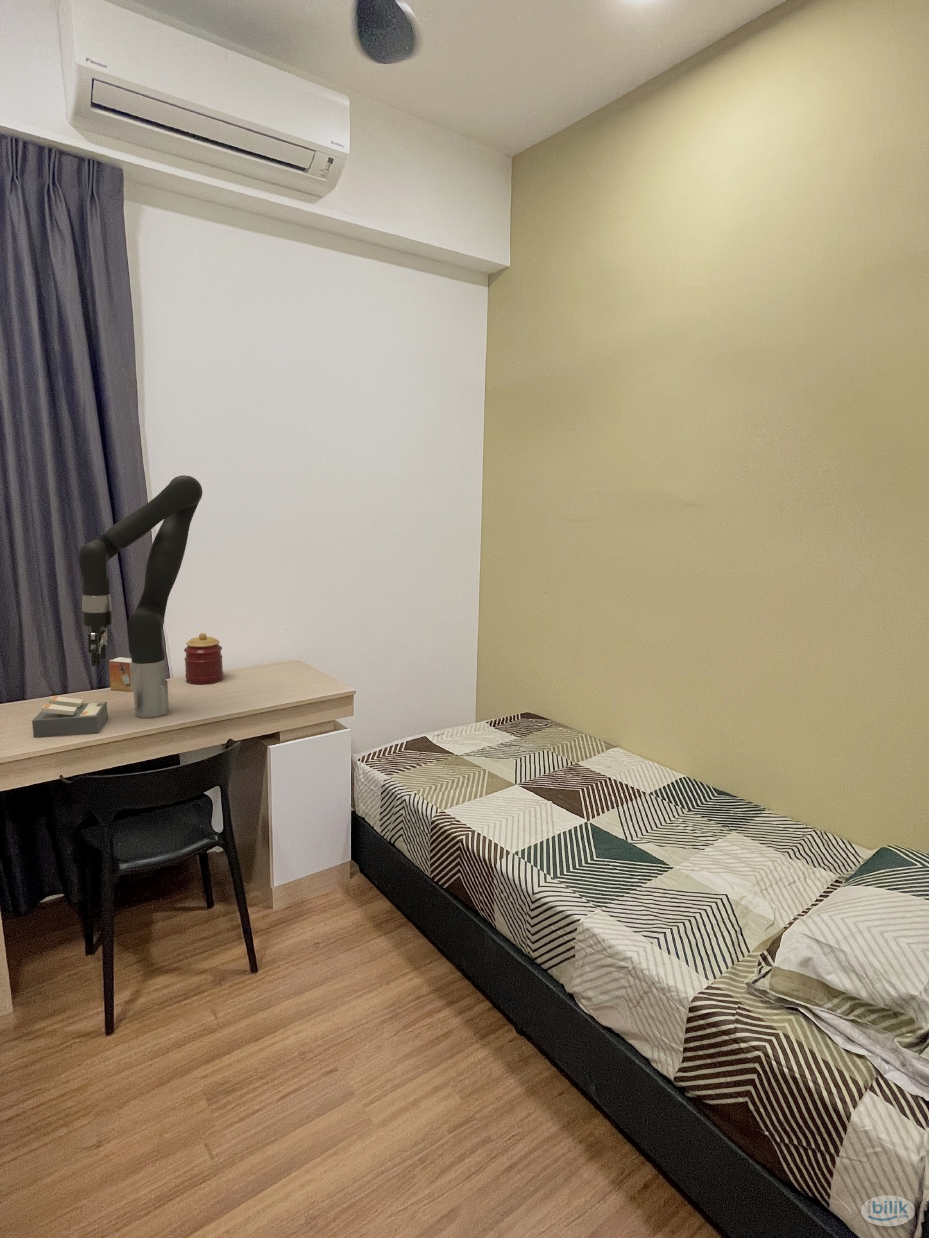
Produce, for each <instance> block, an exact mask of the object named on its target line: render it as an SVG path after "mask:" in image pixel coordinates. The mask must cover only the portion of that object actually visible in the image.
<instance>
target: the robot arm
mask: <svg viewBox="0 0 929 1238" xmlns="http://www.w3.org/2000/svg"><path fill="white" fill-rule="evenodd" d="M202 498H203V488H202V485H201V483H200V481H199V480H198V479H196V478H195V477H193V476H190V475H183V474H182V475H178V476H175V477H174V478H173V479H171V480H170V481H169V483H168V484H167V485H166V486H165V487H164V488H163V489H162V490H161V491H160V492H159V493H158V494H157V495H155V497H154V498H152V499H151V500H150V501H148V502H147V503H145V504H144V505H142V506H140V507H139V508H138V509H136V510H134V511H133V512H131V513H129V514H128V515H126V516H125V517H124V518H122V519H121V520H119V521H118V522H116V523H114V525H111V527H109V528H108V529H107V530H106V532H104V533H102V534H101V535H100V536H98V537H97V538H95V539H93V540H91V541H90V542H88V543H85V544H83V545H82V546H81V547H80V549H79V552H78V564H79V570H80V574H81V577H82V582H81V583H82V584H81V585H82V587H81V588H82V601H81V604H82V605H81V607H82V625H83V626H85V627H90V629H91V630H90V631H89V632H88V633H87V638H88V639H87V640H88V641H87V642H88V645H87V647H88V648H87V649H88V654H90V660H91V663H90V664H91V666H92V667H100V665H101V659H103V660H105V659H106V658H107V645H108V642H109V639H108V638H109V637H108V627H109V626H111V625H112V624H113V620H112V619H113V614H112V599H111V587H110V586H111V584H110V577H109V576H108V575H107V563H108V561H110V560H111V559H112V558H114V557H115V556H116V555H118V554H119V553H120V552H121V551H122V550H123V549H126V548H128V547H130V546H131V545H132V544H134V543H135V542H137V541H138V540H139V539H141V538H142V537H144V536H145V535H146V534H147V533H148V532H150V531H151V530H152V529H154V527H156V526H157V525H158V524H159V523H161V522H162V523H161V525H160V527H159V529H158V531H157V533H156V535H155V537H154V540H153V541H152V545H151V548H150V550H149V554H148V557H147V562H146V566H145V567H146V568H145V574H144V586H143V590H142V594H141V597H140V599H139V601H138V603H137V606H136V608H135V610H134V612H133V613H132V614H131V615H130V617H129V618H128V620H127V624H126V625H127V626H126V627H127V642H128V650H129V655H130V658H131V661H132V675H133V690H134V691H133V699H134V700H133V702H134V715H135V716H136V717H137V718H142V719H145V718H146V719H147V718H148V719H149V718H157V717H162V716H167V715H168V711H169V710H170V705H169V704H170V703H169V691H168V690H169V688H168V680H167V678H166V677H167V676H166V675H167V674H166V659H165V657H166V656H165V655H166V654H165V650H164V647H163V638H162V637H163V635H162V633H163V632H162V630H163V627H164V622H165V617H166V612H167V611H166V609H167V605H168V600H169V597H170V593H171V591H172V589H173V588H174V585H175V582H176V580H177V577H178V574H179V572H180V570H181V566H182V563H183V559H184V557H185V552H186V548H187V543H188V539H189V538H188V537H189V532H190V526H191V522H192V520H193V517H194V515H195V513H196V510H197V507H198V505H199V503H200V501H201V499H202Z"/></svg>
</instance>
